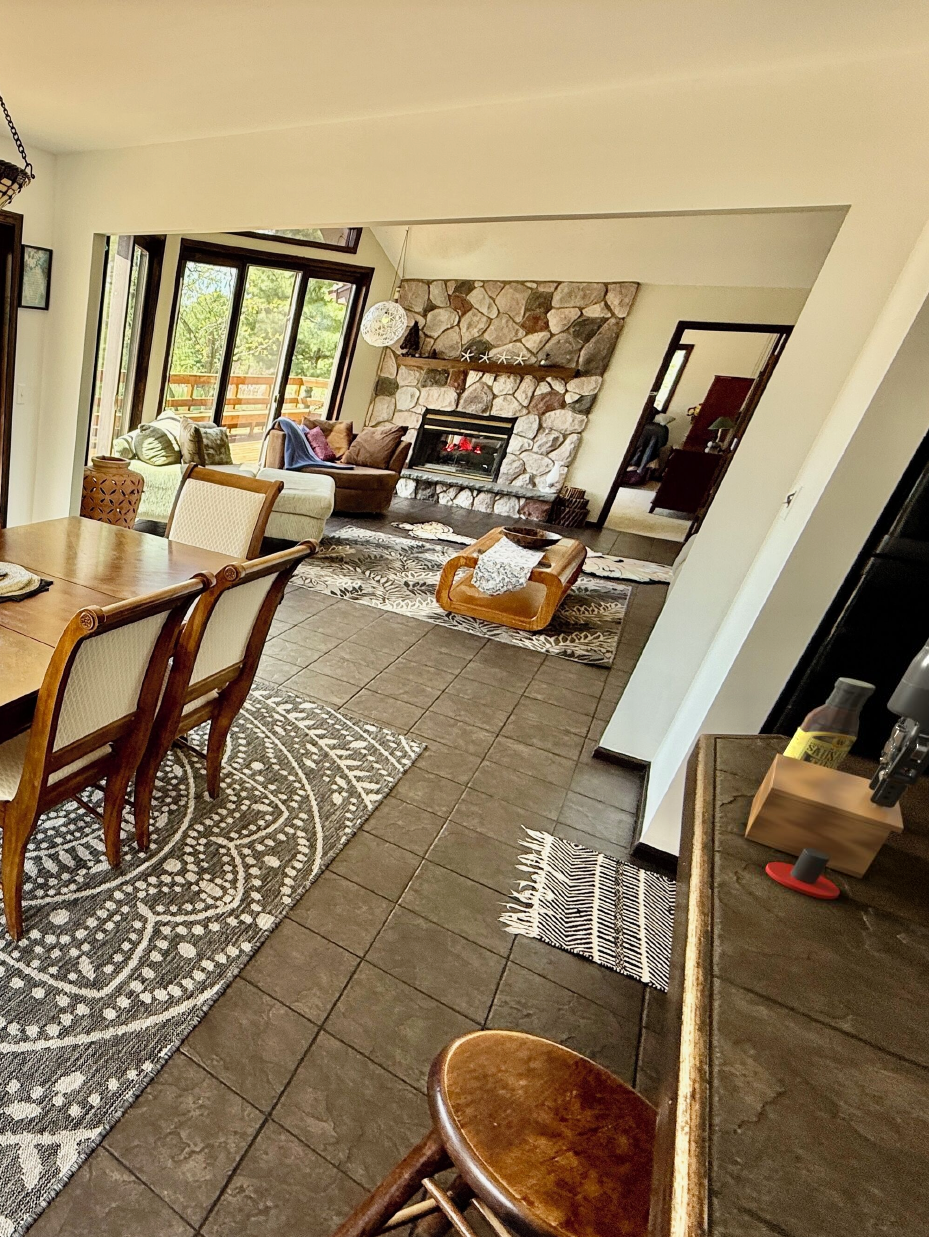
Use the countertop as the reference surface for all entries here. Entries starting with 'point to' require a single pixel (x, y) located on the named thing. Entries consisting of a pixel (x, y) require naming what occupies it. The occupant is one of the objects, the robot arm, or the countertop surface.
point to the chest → (813, 831)
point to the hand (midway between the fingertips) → (879, 797)
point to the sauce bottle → (831, 726)
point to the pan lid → (805, 874)
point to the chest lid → (832, 792)
